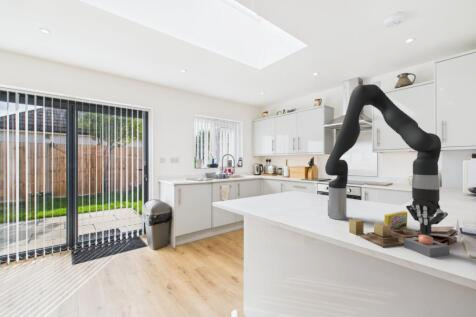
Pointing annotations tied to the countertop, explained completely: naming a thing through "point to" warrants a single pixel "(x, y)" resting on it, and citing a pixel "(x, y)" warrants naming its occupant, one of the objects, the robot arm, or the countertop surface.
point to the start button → (426, 240)
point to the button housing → (427, 247)
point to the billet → (356, 226)
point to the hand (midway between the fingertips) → (425, 234)
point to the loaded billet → (382, 230)
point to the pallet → (390, 238)
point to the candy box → (396, 220)
